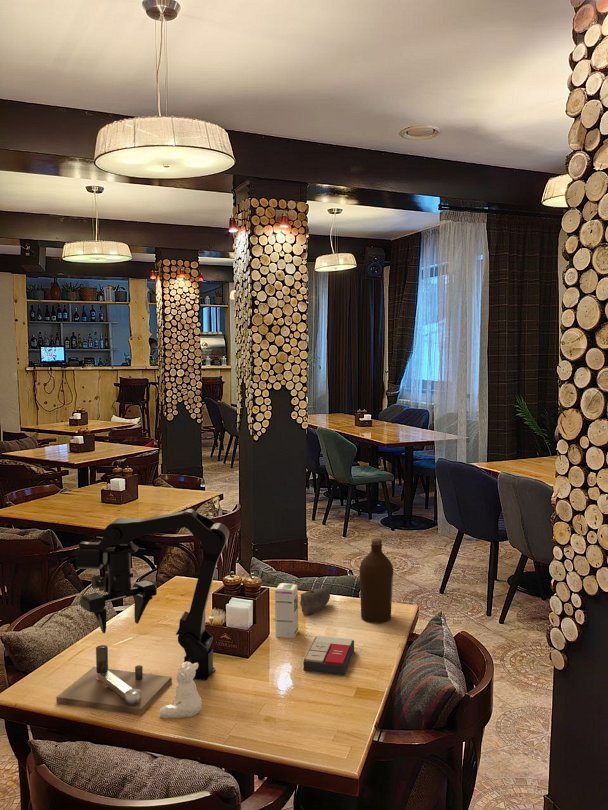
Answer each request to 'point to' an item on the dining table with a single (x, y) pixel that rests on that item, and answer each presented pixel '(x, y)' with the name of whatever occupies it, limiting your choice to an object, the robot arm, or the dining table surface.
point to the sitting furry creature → (184, 695)
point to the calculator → (329, 655)
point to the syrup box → (286, 610)
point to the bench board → (103, 697)
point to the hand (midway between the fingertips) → (120, 627)
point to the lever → (114, 678)
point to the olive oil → (376, 585)
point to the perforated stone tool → (314, 600)
